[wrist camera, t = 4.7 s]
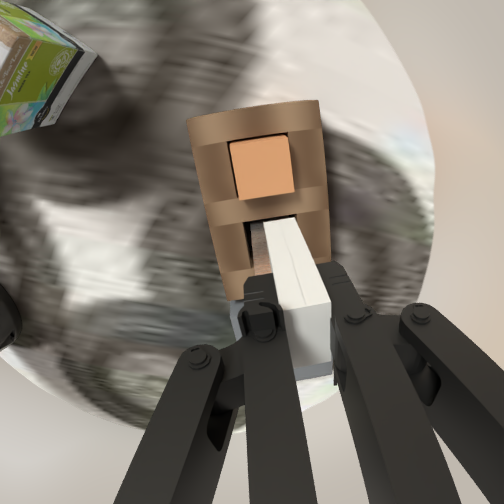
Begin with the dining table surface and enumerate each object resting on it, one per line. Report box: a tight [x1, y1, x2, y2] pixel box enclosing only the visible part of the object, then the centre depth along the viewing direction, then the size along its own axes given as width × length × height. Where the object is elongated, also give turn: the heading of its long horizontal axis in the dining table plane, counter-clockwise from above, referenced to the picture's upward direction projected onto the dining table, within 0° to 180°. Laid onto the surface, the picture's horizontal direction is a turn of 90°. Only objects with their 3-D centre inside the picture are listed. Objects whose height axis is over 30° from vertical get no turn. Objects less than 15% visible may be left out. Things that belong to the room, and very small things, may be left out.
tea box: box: [0, 1, 98, 137], centre depth 17 cm, size 15×10×15 cm, turn 48°
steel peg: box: [250, 215, 289, 276], centre depth 28 cm, size 4×4×16 cm
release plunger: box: [230, 133, 295, 201], centre depth 28 cm, size 5×5×5 cm
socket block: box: [186, 100, 331, 301], centre depth 31 cm, size 12×20×4 cm, turn 9°
